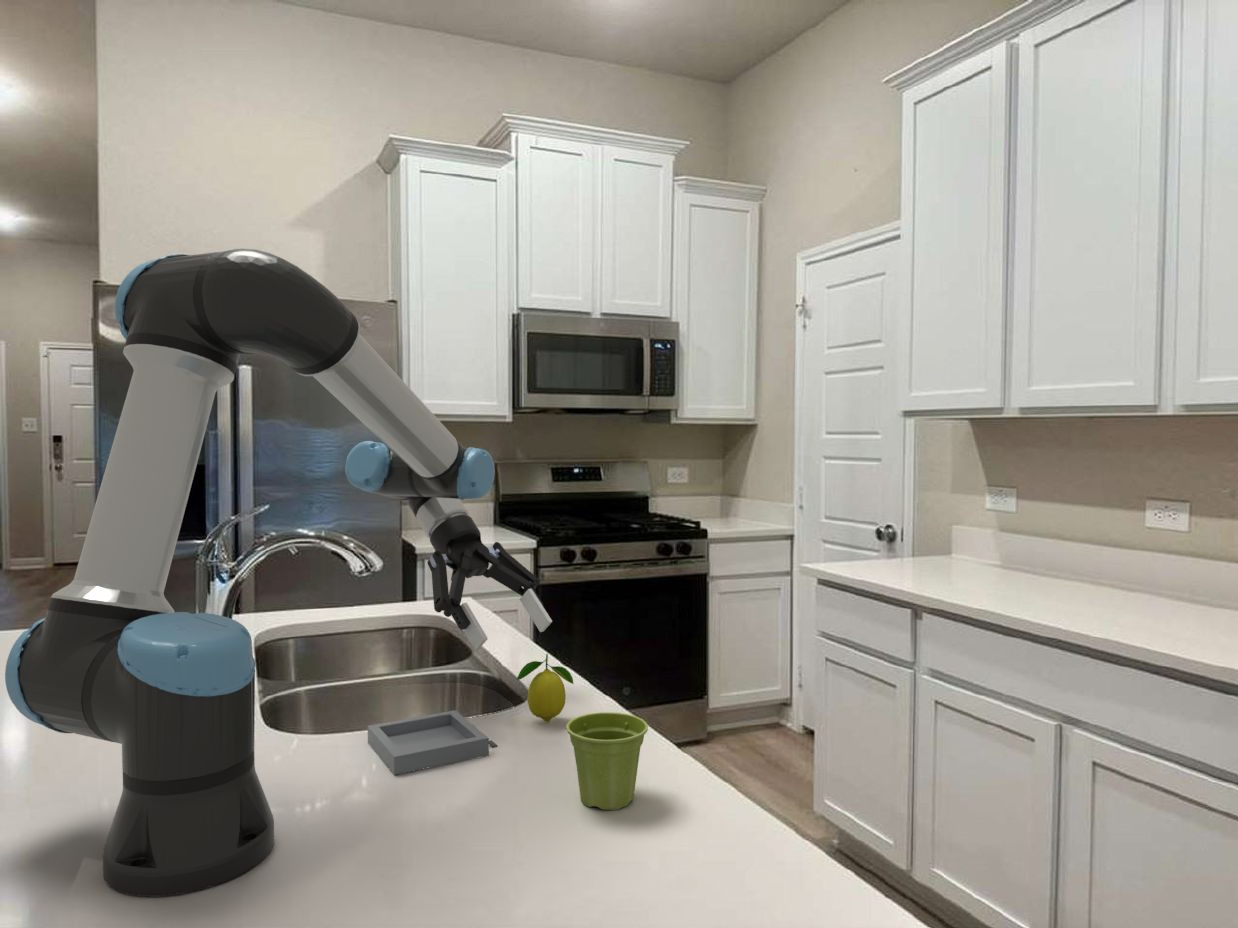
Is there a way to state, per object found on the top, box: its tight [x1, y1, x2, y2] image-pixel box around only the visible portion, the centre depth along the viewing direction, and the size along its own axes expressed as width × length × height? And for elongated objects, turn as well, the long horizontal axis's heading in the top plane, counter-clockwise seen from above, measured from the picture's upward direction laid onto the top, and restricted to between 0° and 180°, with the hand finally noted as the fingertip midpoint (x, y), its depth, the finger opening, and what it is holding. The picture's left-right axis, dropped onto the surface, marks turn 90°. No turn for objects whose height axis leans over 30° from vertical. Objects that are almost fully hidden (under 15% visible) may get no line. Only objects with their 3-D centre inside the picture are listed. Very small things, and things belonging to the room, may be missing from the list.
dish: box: [367, 709, 490, 776], centre depth 111 cm, size 12×12×2 cm
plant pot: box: [565, 711, 649, 811], centre depth 96 cm, size 9×9×9 cm
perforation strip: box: [482, 732, 498, 748], centre depth 116 cm, size 9×1×1 cm, turn 31°
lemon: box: [516, 653, 574, 723], centre depth 121 cm, size 7×6×10 cm
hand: (515, 635), depth 126 cm, fingers open, 13 cm apart
